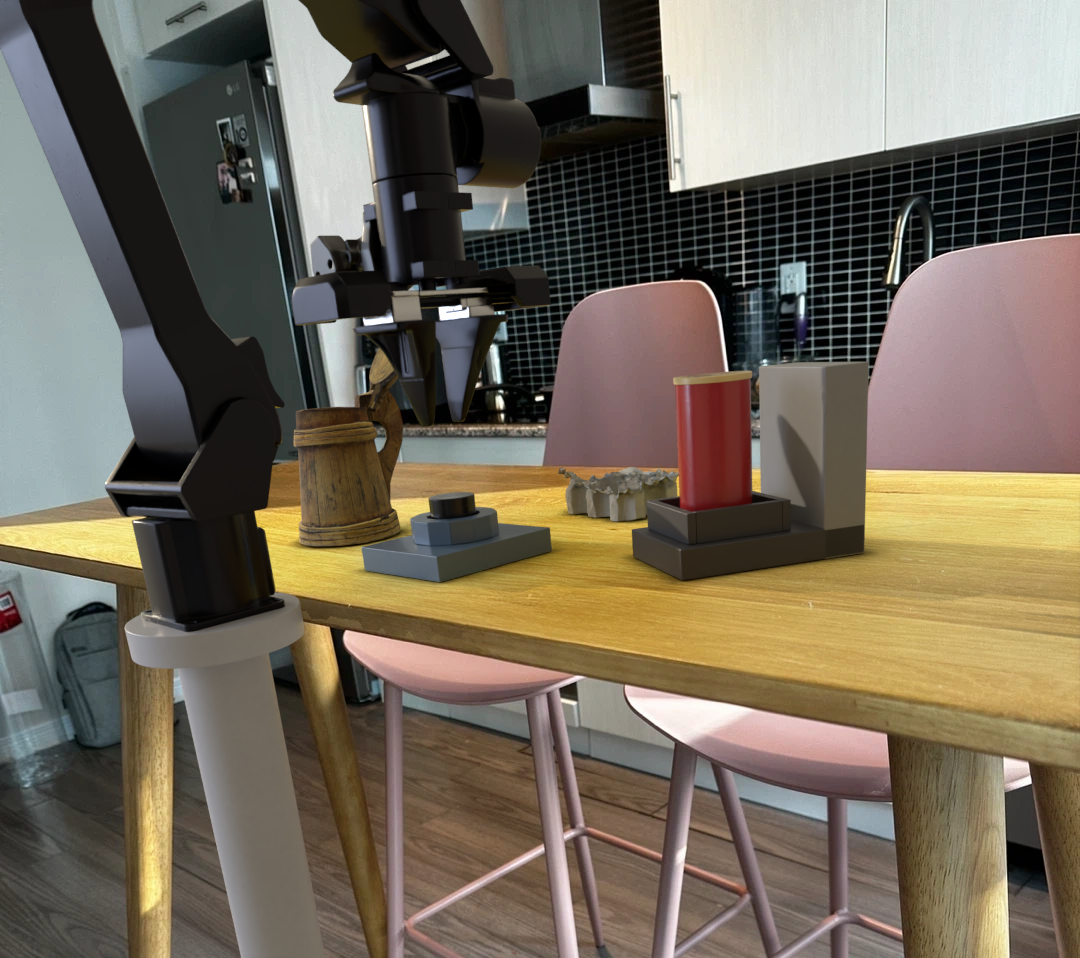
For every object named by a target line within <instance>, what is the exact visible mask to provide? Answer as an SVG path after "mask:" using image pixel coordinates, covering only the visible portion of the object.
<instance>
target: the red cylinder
mask: <svg viewBox="0 0 1080 958" xmlns="http://www.w3.org/2000/svg"><path fill="white" fill-rule="evenodd" d="M752 378H753V370H752V371H751V370H734V371H733V370H731V371H718V372H706V373H696V374H687V375H681V376H675V377H673V378H672V382H673V385H674V392H675V393H674V395H675V416H676V417H675V418H676V421H675V422H676V443H677V444H676V445H677V466H678V467H677V469H678V471H677V472H679V475H678V492H679V494H678V496H680V508H681V509H684V510H688V511H691V512H693V511H701V510H708V509H715V508H723V507H730V506H737V505H745V504H752V503H753V498H752V491H753V443H752V438H753V437H752V433H753V432H752V387H751V386H752V380H751V379H752Z"/></svg>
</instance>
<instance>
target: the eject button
mask: <svg viewBox="0 0 1080 958" xmlns="http://www.w3.org/2000/svg"><path fill="white" fill-rule="evenodd" d="M476 507H477V506H476V497H475V493H473V492H471V491H458V492H457V491H456V492H445V493H439V494H435V495H431V496H429V497H428V508H429V512H430V516H431V519H436V520H438V519H455V518H463V517H468V516H473V515H477V514H476Z"/></svg>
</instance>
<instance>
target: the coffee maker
mask: <svg viewBox="0 0 1080 958" xmlns="http://www.w3.org/2000/svg"><path fill="white" fill-rule="evenodd" d="M869 364H870V363H869V361H813V362H812V361H803V362H802V361H799V362H797V361H796V362H790V363H789V362H788V363H777V364H769V365H760V366H759V367H758V384H759V386H758V388H759V395H758V397H759V464H760V465H759V466H760V467H759V468H760V469H759V470H760V471H759V472H760V473H759V474H760V475H759V476H760V491H755V490H752V498H753V503H752V504H745V505H737V506H730V507H723V508H715V509H708V510H701V511H693V512H691V511H688V510H684V509H681V508H680V496H679V495H677V497H670V498H662V499H655V500H647V515H646V516H647V518H646V519H647V526H645V527H639V528H633V529H631V544H632V557H633V558H635V559H636V560H639V561H641V562H643V563H645V564H647V565H649V566H652V567H654V568H655V569H658V570H660V571H662V572H664V573H666V574H668V575H670V576H672V577H673V578H676V579H678V580H681V581H689V580H695V579H702V578H709V577H715V576H722V575H727V574H735V573H743V572H747V571H754V570H755V571H756V570H761V569H768V568H774V567H781V566H786V565H787V566H788V565H794V564H801V563H807V562H814V561H820V560H821V561H822V560H828V559H834V558H841V557H848V556H853V555H860V554H864V553H865V547H866V546H865V543H866V542H865V541H866V540H865V539H866V535H865V534H866V501H867V500H866V498H867V497H866V495H867V493H866V492H867V455H868V454H867V452H868V408H869V407H868V406H869V366H870V365H869Z"/></svg>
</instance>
